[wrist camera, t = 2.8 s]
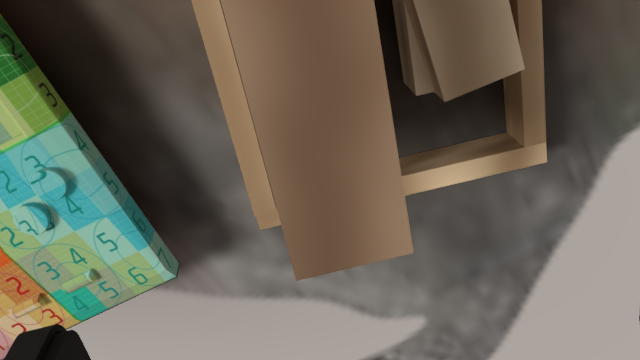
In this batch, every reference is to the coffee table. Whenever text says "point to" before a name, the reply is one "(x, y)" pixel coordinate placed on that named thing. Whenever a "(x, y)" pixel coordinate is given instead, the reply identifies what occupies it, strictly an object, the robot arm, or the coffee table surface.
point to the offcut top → (465, 43)
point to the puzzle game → (62, 212)
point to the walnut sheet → (323, 128)
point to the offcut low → (410, 52)
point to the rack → (417, 169)
